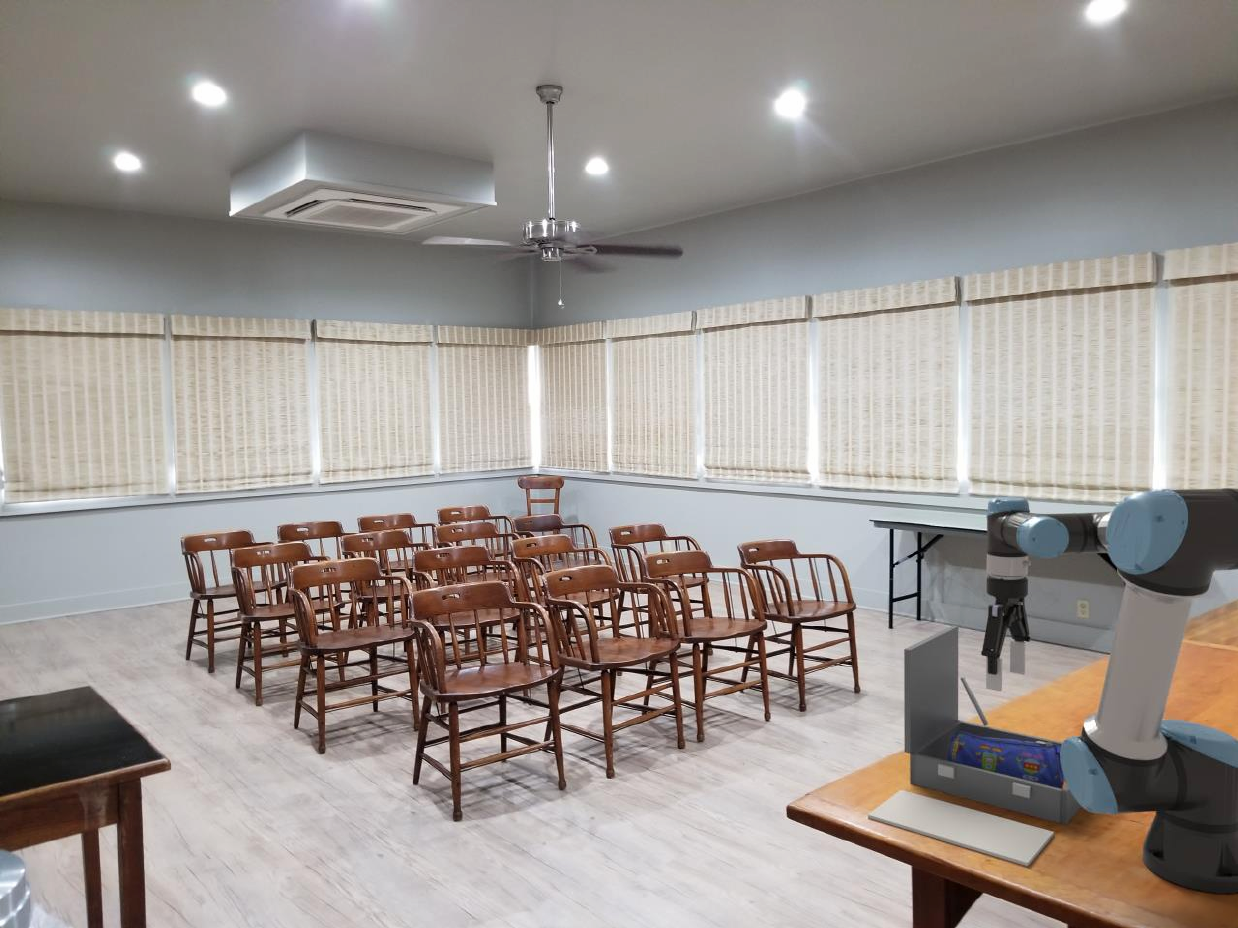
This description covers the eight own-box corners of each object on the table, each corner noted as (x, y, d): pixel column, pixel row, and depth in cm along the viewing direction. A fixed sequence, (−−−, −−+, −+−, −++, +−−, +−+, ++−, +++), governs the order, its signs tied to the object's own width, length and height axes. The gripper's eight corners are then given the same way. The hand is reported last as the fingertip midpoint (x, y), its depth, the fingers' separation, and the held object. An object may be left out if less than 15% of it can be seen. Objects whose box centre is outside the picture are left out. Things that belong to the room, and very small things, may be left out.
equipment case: (1064, 826, 160) (1066, 677, 159) (902, 782, 180) (902, 649, 179) (1102, 780, 180) (1104, 647, 178) (952, 745, 200) (952, 625, 198)
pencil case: (1068, 784, 179) (1068, 736, 178) (1066, 801, 171) (1067, 751, 170) (951, 765, 189) (951, 720, 188) (944, 780, 182) (944, 733, 181)
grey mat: (1027, 866, 147) (1027, 862, 147) (868, 817, 165) (868, 814, 165) (1053, 835, 157) (1053, 831, 157) (900, 792, 176) (900, 789, 176)
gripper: (1005, 588, 166) (1003, 701, 167) (1047, 568, 184) (1045, 669, 186) (964, 583, 171) (963, 693, 172) (1009, 564, 189) (1008, 663, 191)
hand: (1006, 681), depth 179 cm, fingers open, 13 cm apart
